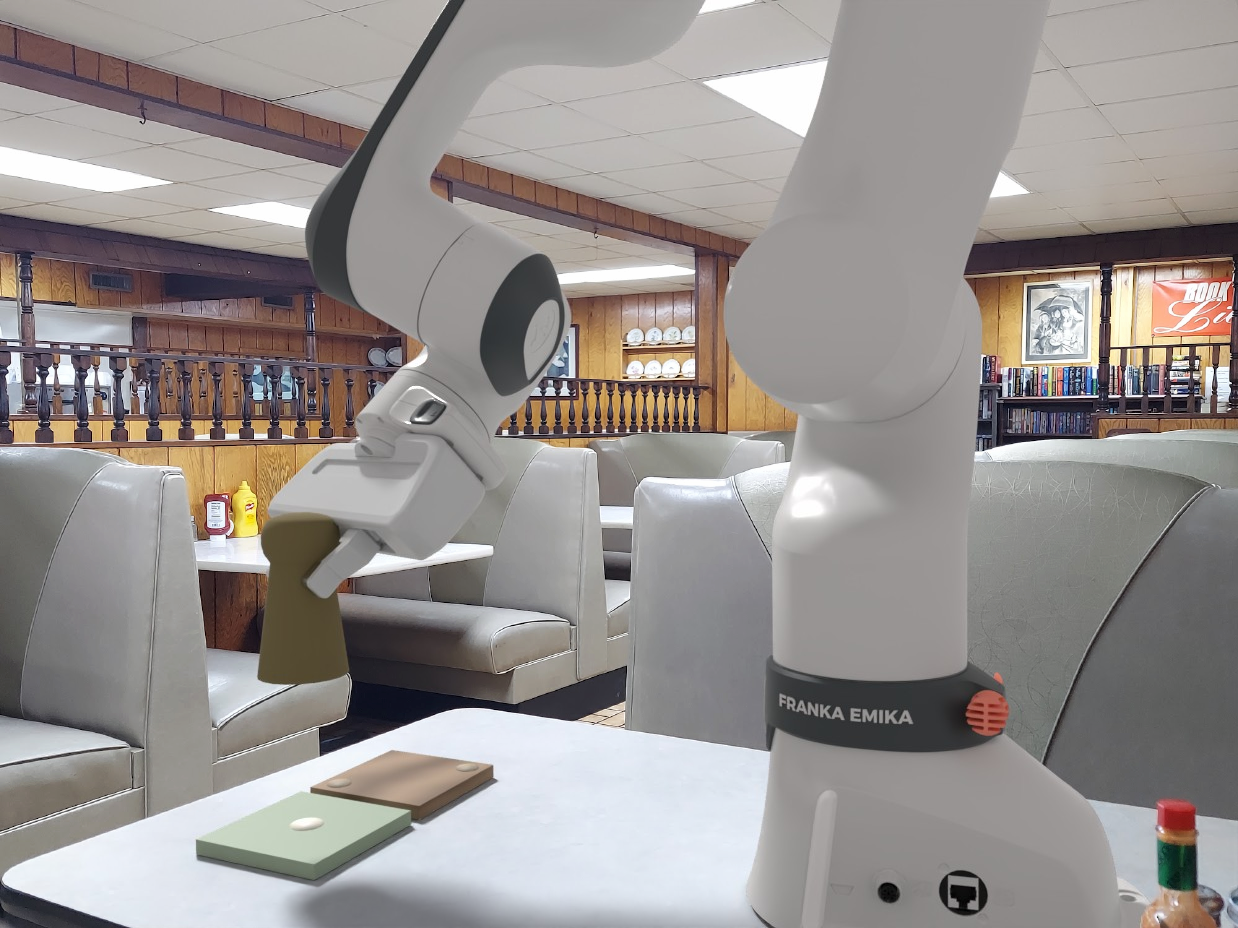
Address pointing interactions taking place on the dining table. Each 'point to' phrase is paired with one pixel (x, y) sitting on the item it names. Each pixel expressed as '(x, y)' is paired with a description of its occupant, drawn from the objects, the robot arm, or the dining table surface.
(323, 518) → the cork
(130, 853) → the dining table surface
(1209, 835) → the dining table surface
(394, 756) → the tile two
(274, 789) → the dining table surface
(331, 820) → the tile one
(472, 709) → the dining table surface
